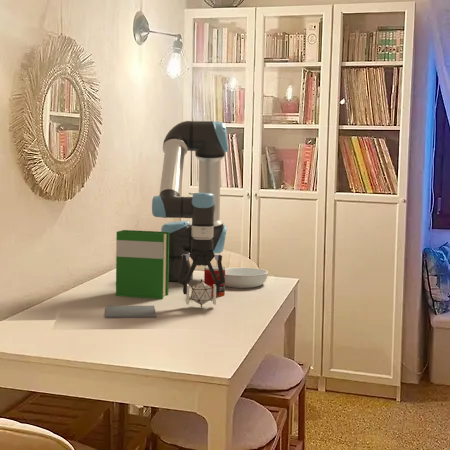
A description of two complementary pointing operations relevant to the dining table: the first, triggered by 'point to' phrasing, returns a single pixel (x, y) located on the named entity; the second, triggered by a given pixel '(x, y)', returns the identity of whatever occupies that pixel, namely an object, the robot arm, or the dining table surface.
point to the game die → (201, 293)
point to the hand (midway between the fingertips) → (200, 303)
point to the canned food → (210, 281)
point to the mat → (130, 312)
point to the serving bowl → (245, 277)
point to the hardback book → (142, 264)
